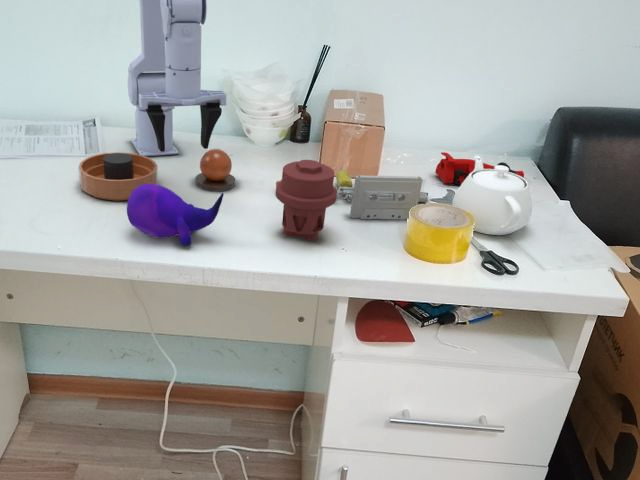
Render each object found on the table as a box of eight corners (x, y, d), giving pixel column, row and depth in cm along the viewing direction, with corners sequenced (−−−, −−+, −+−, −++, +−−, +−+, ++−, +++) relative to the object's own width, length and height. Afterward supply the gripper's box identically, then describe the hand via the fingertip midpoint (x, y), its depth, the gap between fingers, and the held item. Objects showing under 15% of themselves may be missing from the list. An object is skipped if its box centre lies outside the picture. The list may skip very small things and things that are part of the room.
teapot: (546, 250, 122) (566, 191, 116) (469, 249, 121) (484, 189, 115) (499, 198, 140) (514, 144, 134) (431, 197, 139) (443, 142, 133)
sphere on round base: (190, 177, 139) (191, 144, 136) (228, 174, 142) (229, 141, 138) (201, 192, 134) (202, 158, 130) (240, 189, 136) (242, 155, 132)
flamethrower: (273, 178, 140) (276, 201, 132) (274, 165, 139) (277, 187, 131) (419, 187, 143) (430, 210, 135) (422, 174, 141) (434, 197, 133)
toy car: (526, 186, 147) (533, 162, 144) (444, 186, 144) (449, 161, 141) (513, 174, 151) (520, 151, 148) (434, 174, 149) (439, 151, 146)
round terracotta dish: (75, 175, 137) (73, 154, 134) (148, 170, 141) (147, 150, 139) (87, 205, 126) (85, 183, 124) (165, 198, 130) (165, 177, 128)
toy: (219, 235, 122) (133, 216, 122) (228, 182, 116) (137, 163, 116) (210, 259, 115) (119, 239, 115) (219, 204, 109) (122, 183, 109)
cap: (102, 179, 134) (101, 153, 132) (130, 177, 136) (129, 152, 133) (107, 190, 130) (106, 164, 128) (136, 188, 132) (135, 162, 129)
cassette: (350, 219, 128) (356, 178, 124) (348, 214, 129) (354, 174, 125) (416, 220, 129) (424, 179, 125) (413, 215, 131) (421, 175, 127)
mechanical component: (300, 216, 128) (343, 236, 122) (260, 231, 122) (303, 253, 116) (307, 148, 121) (353, 166, 115) (265, 160, 115) (311, 180, 109)
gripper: (144, 74, 111) (146, 159, 119) (233, 71, 116) (230, 153, 123) (134, 62, 116) (137, 144, 124) (220, 60, 121) (217, 139, 129)
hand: (183, 148), depth 124 cm, fingers open, 7 cm apart
